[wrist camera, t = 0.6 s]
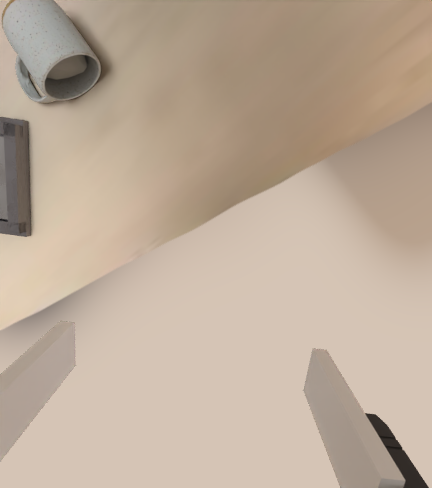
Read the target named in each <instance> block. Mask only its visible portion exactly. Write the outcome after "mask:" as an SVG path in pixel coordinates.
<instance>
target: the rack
mask: <svg viewBox="0 0 432 488" xmlns="http://www.w3.org/2000/svg"><path fill="white" fill-rule="evenodd" d="M0 233H2V234H10V235H17V236H25V237H27V236H31V211H30V175H29V138H28V122H27V121H24V120H18V119H10V118H3V117H0Z"/></svg>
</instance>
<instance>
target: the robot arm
mask: <svg viewBox="0 0 432 488" xmlns="http://www.w3.org/2000/svg"><path fill="white" fill-rule="evenodd" d="M74 367H75V323H74V322H67V321H60V322H59V323H58V324H57V325H56V326H54V327H53V328H52V329H51V330H50V331H49V332H48V333H46V334H45V335H44V336H43V337H42V338H41V339H40V340H38V342H36V343H35V344H34V345H33V346H32V347H31V348H29V349H28V350H27V351H26V352H25V353H24V354H23V355H22V356H20V357H19V358H18V359H17V360H16V361H15V362H14V363H13V364H12V365H10V366H9V367H8V368H7V369H6V370H5V371H4V372H3V373H1V374H0V461H1V460H2V459H3V457H4V456H5V455H6V454H7V452H8V451H9V450H10V448H11V447H12V446H13V445H14V443H15V442H16V441H17V440H18V438H19V437H20V436H21V435H22V433H23V432H24V431H25V429H26V428H27V427H28V426H29V424H30V423H31V422H32V420H33V419H34V418H35V417H36V415H37V414H38V413H39V412H40V410H41V409H42V408H43V406H44V405H45V404H46V403H47V401H48V400H49V399H50V397H51V396H52V395H53V394H54V392H55V391H56V390H57V388H58V387H59V386H60V385H61V383H62V382H63V381H64V380H65V378H66V377H67V376H68V374H69V373H70V372H71V371H72V369H73V368H74ZM304 393H305V396H306V398H307V401H308V404H309V406H310V409H311V411H312V414H313V417H314V419H315V422H316V425H317V427H318V430H319V433H320V435H321V438H322V440H323V443H324V446H325V448H326V451H327V453H328V456H329V459H330V461H331V464H332V467H333V469H334V472H335V474H336V477H337V480H338V482H339V485H340V488H429V487H428V486H427V484H426V483H425V481H424V480H423V478H422V477H421V476H420V474H419V472H418V471H417V469H416V468H415V467H414V465H413V463H412V462H411V460H410V459H409V457H408V456H407V454H406V453H405V451H404V450H402V447H401V445H400V444H399V442H398V441H397V440H396V439H395V436H394V435H393V433H392V432H391V430H390V429H389V427H388V426H387V425H386V424H385V423H384V422H383V421H382V420H381V419H380V418H379V417H378V416H377V415H375V414H367V413H364V411H363V409H362V408H361V406H360V405H359V403H358V401H357V399H356V398H355V396H354V395H353V393H352V391H351V390H350V388H349V386H348V385H347V383H346V381H345V380H344V378H343V376H342V375H341V373H340V371H339V370H338V368H337V366H336V365H335V363H334V361H333V360H332V358H331V356H330V355H329V353H328V352H327V350H322V349H313V350H312V354H311V359H310V363H309V368H308V372H307V377H306V381H305V386H304Z"/></svg>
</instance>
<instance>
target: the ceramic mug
mask: <svg viewBox="0 0 432 488" xmlns="http://www.w3.org/2000/svg"><path fill="white" fill-rule="evenodd" d="M2 26H3V29H4V32H5V34H6V37H7V39H8V40H9V42H10V44H11V46H12V47H13V49H14V50H15V52H16V53H17V58H16V66H15V68H16V74H17V78H18V81H19V83H20V85H21V87H22V89H23V91H24V92H25V94H26V95H27V96H28V97H29V98H30V99H31V100H33V101H35V102H39V103H50V102H52V101H54V100H58V101H63V100H70V99H73V98H76V97H79V96H81V95H82V94H84V93H85V92H87V91H88V90H89V89H91V88H92V86H94V84H95V83H96V82H97V80H98V78H99V76H100V73H101V65H100V62H99V60H98V58H97V57H96V55H95V54H94V52H93V51H92V50H91V48H90V47H89V45H88V44H87V43H86V41H85V40H84V38H83V37H82V36H81V34H80V33H79V32H78V30H77V29H76V27H75V26H74V25H73V23H72V22H71V20H70V19H69V17H68V16H67V15H66V13H65V12H64V11H63V10H62V9H61V7H60V6H59V5H58V4H57V3H56V2H55V1H54V0H11V1H10V2H9V3H8V4H7V5H6V7H5V9H4V11H3V14H2ZM28 71H29V72H30V74H31V76H32V77H33V78H34V80H35V81H36V83H37V85H38V86H39V88H40V89H41V91H42V92H43V93H44V94H45V95H46V96H44V97H43V98H42V97H40V96H39V95H38V93H37V92H36V90H35V88H34V87H33V85H32V84H31V81H30V79H29V76H28Z"/></svg>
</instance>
